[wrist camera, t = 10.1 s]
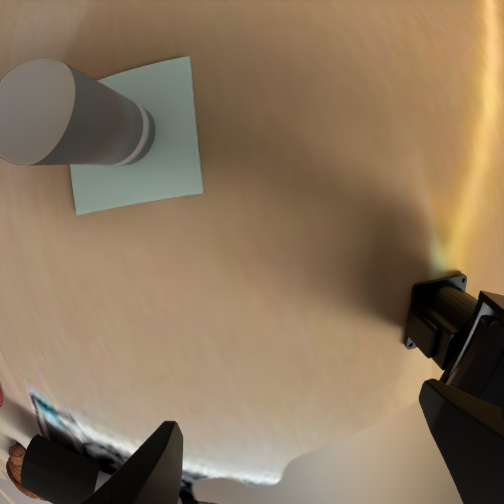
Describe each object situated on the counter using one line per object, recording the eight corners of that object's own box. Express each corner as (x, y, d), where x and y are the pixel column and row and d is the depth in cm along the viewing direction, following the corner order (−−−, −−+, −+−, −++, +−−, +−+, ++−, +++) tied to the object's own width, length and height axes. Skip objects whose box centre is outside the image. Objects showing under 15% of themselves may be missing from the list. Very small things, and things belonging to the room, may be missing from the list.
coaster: (191, 58, 17) (189, 55, 16) (204, 192, 19) (203, 193, 19) (71, 93, 17) (67, 92, 16) (80, 214, 19) (76, 215, 19)
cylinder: (154, 96, 17) (49, 20, 5) (160, 159, 18) (42, 146, 6) (96, 113, 17) (-29, 77, 5) (101, 173, 18) (-34, 186, 6)
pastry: (86, 493, 32) (75, 521, 24) (55, 492, 34) (46, 514, 26) (19, 440, 28) (1, 467, 21) (0, 445, 30) (-14, 467, 22)
